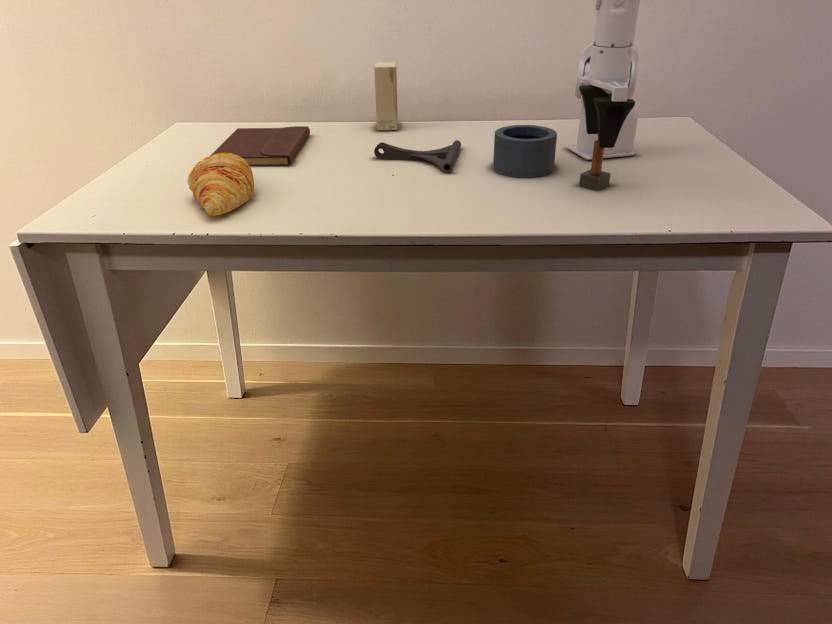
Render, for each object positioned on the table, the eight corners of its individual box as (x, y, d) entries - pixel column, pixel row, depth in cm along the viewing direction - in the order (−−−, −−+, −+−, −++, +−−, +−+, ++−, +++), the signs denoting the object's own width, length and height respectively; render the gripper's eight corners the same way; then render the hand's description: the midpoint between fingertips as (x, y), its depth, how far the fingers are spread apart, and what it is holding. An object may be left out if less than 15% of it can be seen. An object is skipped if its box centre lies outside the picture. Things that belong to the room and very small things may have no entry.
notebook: (208, 166, 125) (206, 154, 124) (237, 136, 141) (235, 126, 140) (291, 165, 124) (290, 154, 123) (310, 135, 140) (309, 125, 139)
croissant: (238, 242, 103) (257, 195, 100) (171, 216, 100) (188, 166, 97) (250, 192, 121) (267, 150, 117) (193, 168, 118) (209, 124, 114)
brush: (590, 180, 113) (596, 137, 110) (609, 185, 111) (615, 141, 108) (578, 186, 111) (584, 141, 108) (597, 190, 109) (603, 145, 106)
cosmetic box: (397, 131, 142) (396, 66, 135) (376, 131, 142) (373, 67, 136) (398, 123, 147) (396, 60, 141) (377, 123, 148) (375, 61, 141)
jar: (538, 157, 125) (541, 122, 122) (563, 174, 117) (567, 137, 113) (484, 162, 123) (486, 127, 120) (506, 180, 115) (508, 143, 111)
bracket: (383, 147, 133) (382, 132, 131) (461, 149, 130) (461, 133, 129) (366, 170, 121) (365, 154, 119) (451, 173, 118) (452, 157, 117)
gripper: (573, 37, 106) (564, 128, 114) (597, 53, 94) (584, 154, 101) (619, 36, 106) (607, 127, 114) (649, 52, 94) (633, 153, 101)
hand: (599, 140), depth 108 cm, fingers open, 7 cm apart
